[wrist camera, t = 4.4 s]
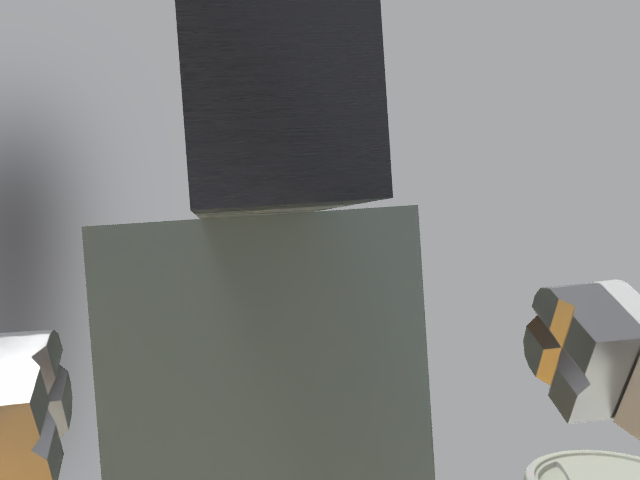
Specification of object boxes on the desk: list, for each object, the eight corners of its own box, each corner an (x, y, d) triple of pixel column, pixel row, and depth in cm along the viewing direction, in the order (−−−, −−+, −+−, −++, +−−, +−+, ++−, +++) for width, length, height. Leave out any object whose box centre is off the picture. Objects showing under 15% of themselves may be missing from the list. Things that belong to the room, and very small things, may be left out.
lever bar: (392, 197, 12) (380, -4, 12) (190, 210, 12) (174, -3, 11) (274, 218, 36) (269, 150, 36) (205, 223, 35) (200, 153, 35)
